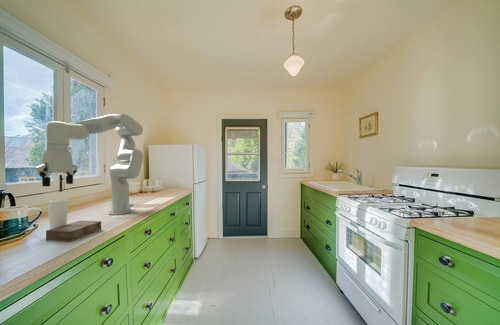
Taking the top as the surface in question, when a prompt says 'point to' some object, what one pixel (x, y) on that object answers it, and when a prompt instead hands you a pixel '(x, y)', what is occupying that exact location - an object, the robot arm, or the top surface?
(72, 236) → the walnut block
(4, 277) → the top surface
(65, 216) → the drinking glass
